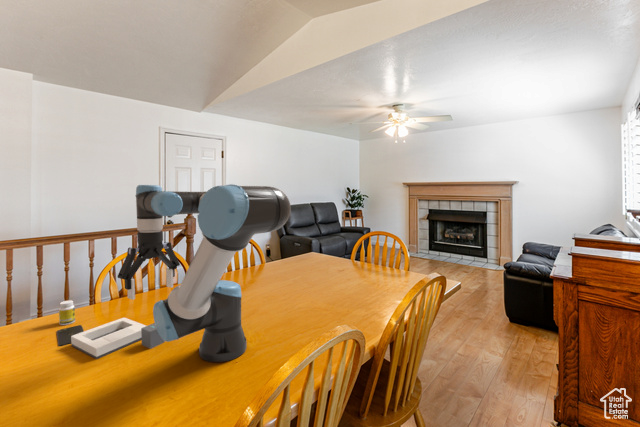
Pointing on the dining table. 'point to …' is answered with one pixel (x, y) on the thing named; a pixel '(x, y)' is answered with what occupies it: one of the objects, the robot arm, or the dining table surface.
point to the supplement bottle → (66, 312)
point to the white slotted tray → (108, 337)
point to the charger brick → (151, 336)
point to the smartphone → (68, 334)
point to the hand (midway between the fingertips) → (151, 292)
